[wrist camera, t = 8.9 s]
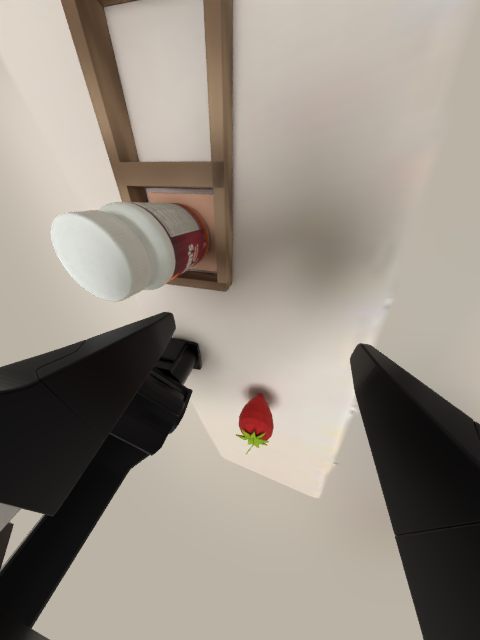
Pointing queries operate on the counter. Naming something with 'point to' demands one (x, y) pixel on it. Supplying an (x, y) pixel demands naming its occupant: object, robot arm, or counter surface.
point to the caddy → (134, 176)
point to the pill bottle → (129, 246)
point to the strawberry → (256, 422)
